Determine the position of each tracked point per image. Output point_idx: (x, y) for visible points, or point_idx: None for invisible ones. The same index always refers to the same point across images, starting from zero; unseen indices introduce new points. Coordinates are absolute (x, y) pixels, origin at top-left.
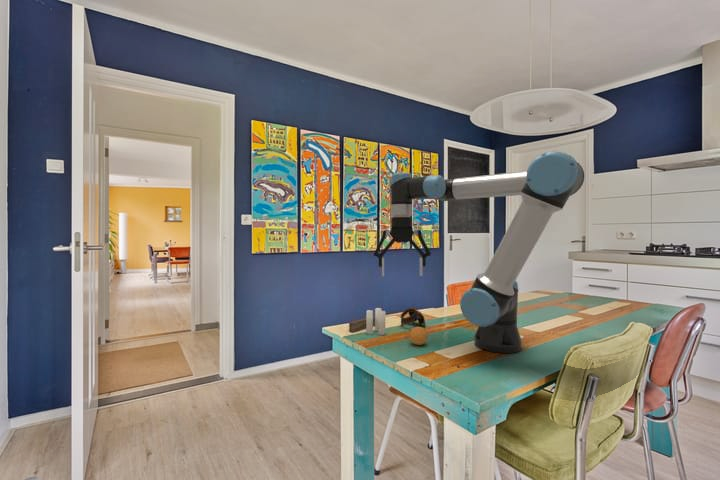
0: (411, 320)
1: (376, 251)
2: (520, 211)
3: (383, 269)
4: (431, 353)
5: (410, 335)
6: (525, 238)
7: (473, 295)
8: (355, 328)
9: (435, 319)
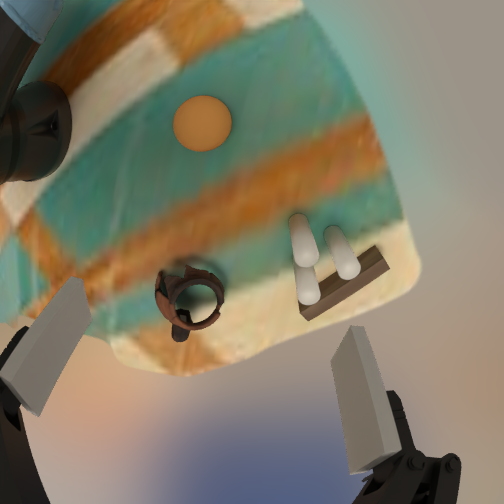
0: (194, 273)
1: (450, 490)
2: None
3: (367, 365)
4: (190, 54)
5: (230, 116)
6: None
7: None
8: (369, 255)
9: (131, 324)
